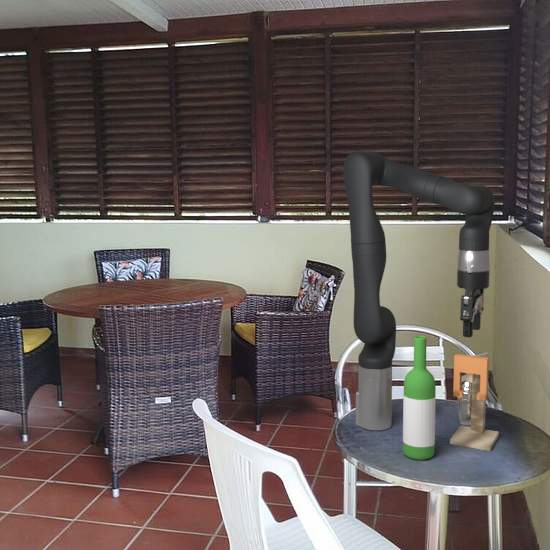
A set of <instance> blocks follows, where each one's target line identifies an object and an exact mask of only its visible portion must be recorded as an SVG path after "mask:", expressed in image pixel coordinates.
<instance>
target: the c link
mask: <svg viewBox="0 0 550 550" xmlns="http://www.w3.org/2000/svg"><path fill="white" fill-rule="evenodd" d="M453 358H454V359H453V386H452V387H453V391H452V393H453V395H452V396H453V397H455V398H457V397H461V398H462V397H463V396H464V390H463V389H461V383H462V376H463V374H462V373H464V374H466V373H471V374H479V375H480V392H478V393H477V400H482V401H486V402H487V400H488V397H489V396H488V394H489V393H488V392H489V369H490V368H489V366H490V365H489V364H490V358H489V357H488V356H487V357H486V356H481V357H479V356H474V355H470V354H469V355H467V354H460V353H455V355H454V356H453Z"/></svg>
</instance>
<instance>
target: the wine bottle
mask: <svg viewBox="0 0 550 550" xmlns="http://www.w3.org/2000/svg"><path fill="white" fill-rule="evenodd" d="M436 386H437V384H436V379H435V377H434V375H433V374H432V373H431V372H430V371H429V370H428V369H427V337H426V336H424V335H416V336H414V337H413V368H412V369H411V370H409V371H408V372H407V373H406V375H405V376H404V380H403V396H402V397H403V399H402V400H403V402H402V403H403V406H402V408H403V409H402V411H403V412H402V415H403V416H402V452H403V453H404V455H405V456H406V457H408V458H409V459H412V460H416V461H421V460H422V461H423V460H425V461H426V460H428V459H431V458H433V456H434V454H435V445H436V444H435V443H436V398H437V397H436V395H437V394H436V391H437V390H436V389H437V388H436Z"/></svg>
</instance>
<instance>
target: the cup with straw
mask: <svg viewBox="0 0 550 550" xmlns="http://www.w3.org/2000/svg"><path fill="white" fill-rule="evenodd" d="M488 355H489V353H488V352H487V351H486V352H482V353H478V354H476V355H473V356H479V357H485V356H488ZM461 389H463V390H464V396H463V397H462V398H461V397H456V399H457V406H458V416H459V417H458V418H459V423H460V424H461V426H466V425H467V427H471V402H472V383H470V382H466V374H464V375H462V383H461Z"/></svg>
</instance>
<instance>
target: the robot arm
mask: <svg viewBox="0 0 550 550" xmlns="http://www.w3.org/2000/svg"><path fill="white" fill-rule="evenodd" d="M342 167H343V169H342V171H343V175H342V176H343V180H344V181H343V182H344V186H345V187H344V188H345V193H346V198H347V204H348V214H349V215H348V216H349V227H350V228H349V229H350V246H351V247H350V248H351V261H352V271H353V272H352V275H353V289H354V290H353V291H354V292H353V293H354V296H353V298H354V299H353V301H354V302H353V329H354V333H355V335H356V337H357V339H358V340H359V341H360V342H362V343H363V347H362V349H361V351H360V352H359V354H358V364H357V365H358V366H357V367H358V377H357V378H358V379H357V381H358V382H357V383H358V384H357V385H358V386H357V387H358V390H357V391H356V392H355V426H359V427H360V428H362V429H365V430H369V431H384V430H388V429H390V428H391V427H392V424H393V423H392V420H393V416H392V415H393V414H392V413H393V412H392V410H393V359H394V357H395V353H396V343H397V342H396V339H397V322H396V318H395V315H394V313H393V312H392V311H391V309H390V308H388V307H386V306H384V305H383V306H382V305H381V302H380V301H381V297H380V291H381V285H382V280H383V278H384V272H385V268H386V264H387V244H386V233H385V231H384V227H383V226H382V223H381V220H380V218H379V216H378V214H377V212H376V210H375V206H374V200H373V186H379V187H380V186H381V187H389V188H394V189H397V190H400V191H402V192H405V193H407V194H408V195H411V197H415V198H416V199H418V200H422V201H425V202H429V203H431V204H435V205H439V206H442V207H444V208H447V209H449V210H451V211H453V212H456V213H458V214H462V215H465V222H464V225H463V226H461V227H460V229H459V233H458V234H459V235H458V236H459V237H458V252H457V253H458V254H457V271H456V272H457V273H456V274H457V275H456V276H457V277H456V285H457V287H458V288H460V289H464V290H465V291H464V295H461V297H460V315H459V319H460V321H462V337H464V338H472V337H473V336H474V335H473V333H474V331H479V330H481V319H482V317H481V315H482V314H483V311H484V309H485V308H484V292H485V291H484V290H485V289H488V288H489V287H490V266H491V265H490V264H491V263H490V262H491V258H490V229H491V226H492V222H493V218H494V214H495V213H494V212H495V203H496V202H495V195H494V193H493V191H492V190H491V189H490V188H489V187H487V186H485V185H480V184H479V185H470V184H466V183H461V182H457V181H456V180H454V179H452V178H451V177H448V176H444V175H441V174H437V173H434V172H430V171H425V170H420V169H416V168H412V167H409V166H406V165H403V164H400V163H398V162H396V161H393V160H391V159H390V158H387V157H385V156H383V155H382V154H380V153H377V152H374V151H362V150H360V151H352V152H351V153H349V154H348V155H347V156H346V157H345V160H344V162H343V166H342ZM467 314H468V315H467Z"/></svg>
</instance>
